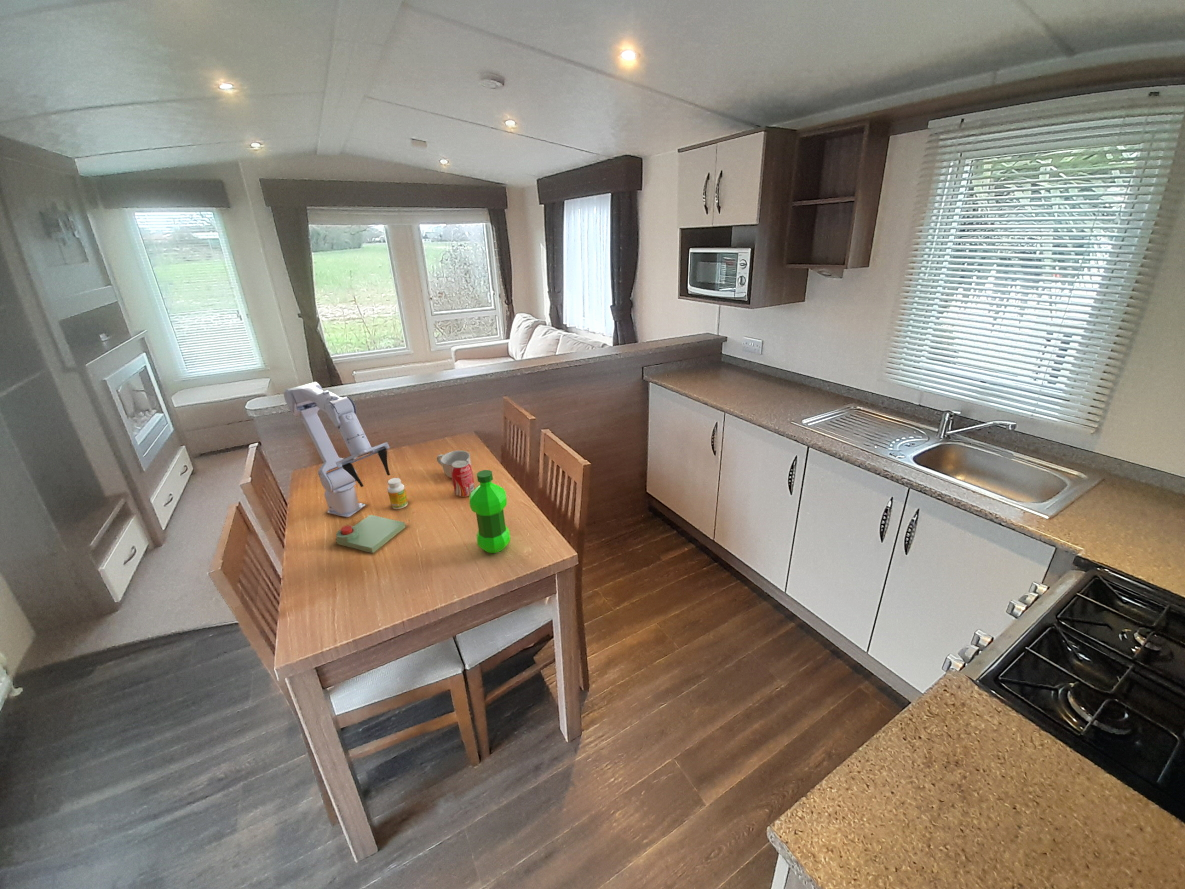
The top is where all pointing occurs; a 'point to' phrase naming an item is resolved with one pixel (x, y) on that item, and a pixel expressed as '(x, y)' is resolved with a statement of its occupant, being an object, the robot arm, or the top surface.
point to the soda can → (462, 478)
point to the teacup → (452, 460)
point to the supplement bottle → (397, 494)
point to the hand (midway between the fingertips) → (375, 481)
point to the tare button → (346, 530)
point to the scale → (370, 533)
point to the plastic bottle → (490, 513)
